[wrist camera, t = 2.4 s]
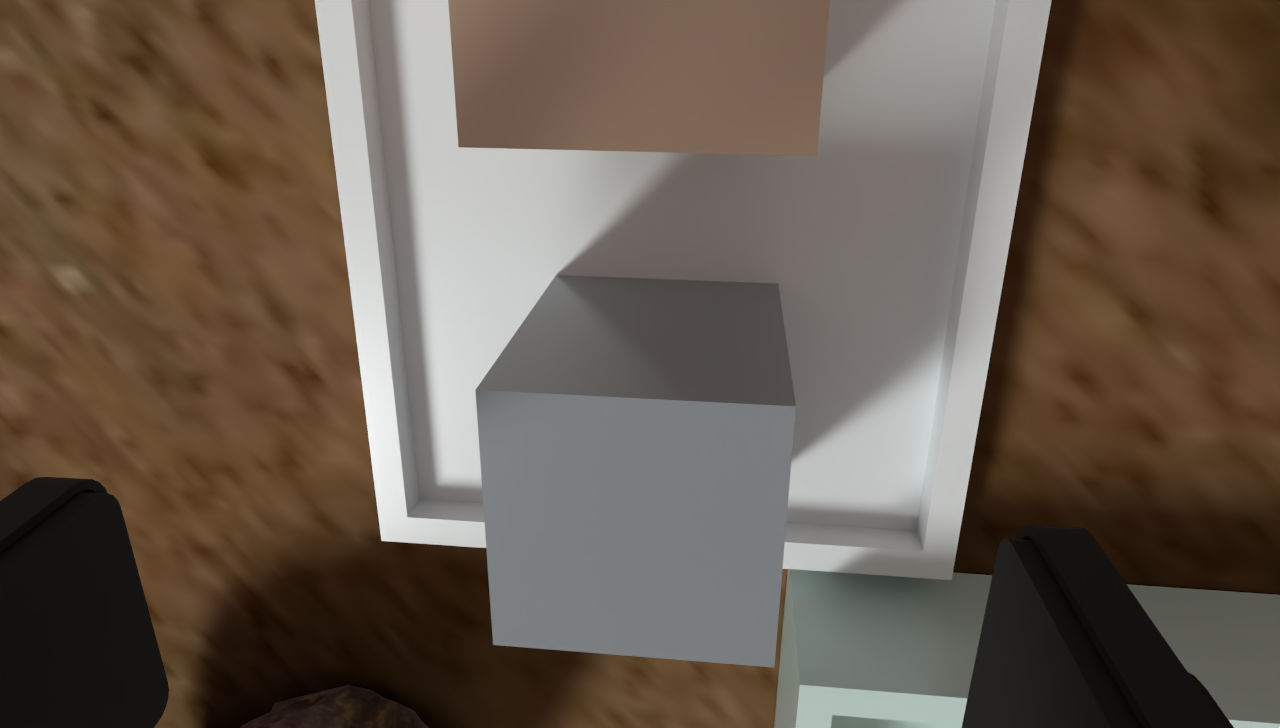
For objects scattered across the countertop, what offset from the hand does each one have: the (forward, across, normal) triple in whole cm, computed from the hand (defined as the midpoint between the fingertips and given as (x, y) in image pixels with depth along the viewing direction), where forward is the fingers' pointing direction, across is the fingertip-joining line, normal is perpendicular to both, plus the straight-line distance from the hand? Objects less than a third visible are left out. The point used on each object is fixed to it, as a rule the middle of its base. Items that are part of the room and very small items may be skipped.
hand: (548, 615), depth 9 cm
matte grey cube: (+7, -1, +1) cm, 8 cm away
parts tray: (+8, -1, -3) cm, 9 cm away
